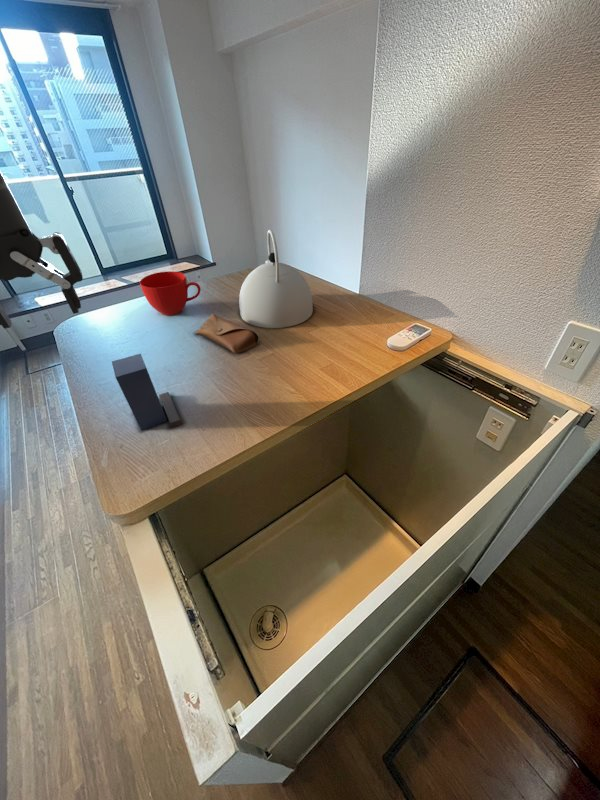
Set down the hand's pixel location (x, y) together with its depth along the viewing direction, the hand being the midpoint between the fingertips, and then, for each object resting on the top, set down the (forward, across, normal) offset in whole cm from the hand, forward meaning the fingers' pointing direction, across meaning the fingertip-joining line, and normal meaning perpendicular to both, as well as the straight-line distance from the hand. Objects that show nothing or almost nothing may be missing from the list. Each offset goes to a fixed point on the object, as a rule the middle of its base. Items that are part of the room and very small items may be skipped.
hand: (43, 318), depth 47 cm
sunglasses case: (+24, -32, -22) cm, 46 cm away
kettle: (+24, -52, -31) cm, 65 cm away
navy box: (+24, -8, 0) cm, 25 cm away
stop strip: (+24, -12, 0) cm, 27 cm away
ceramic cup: (+24, -25, -46) cm, 58 cm away
